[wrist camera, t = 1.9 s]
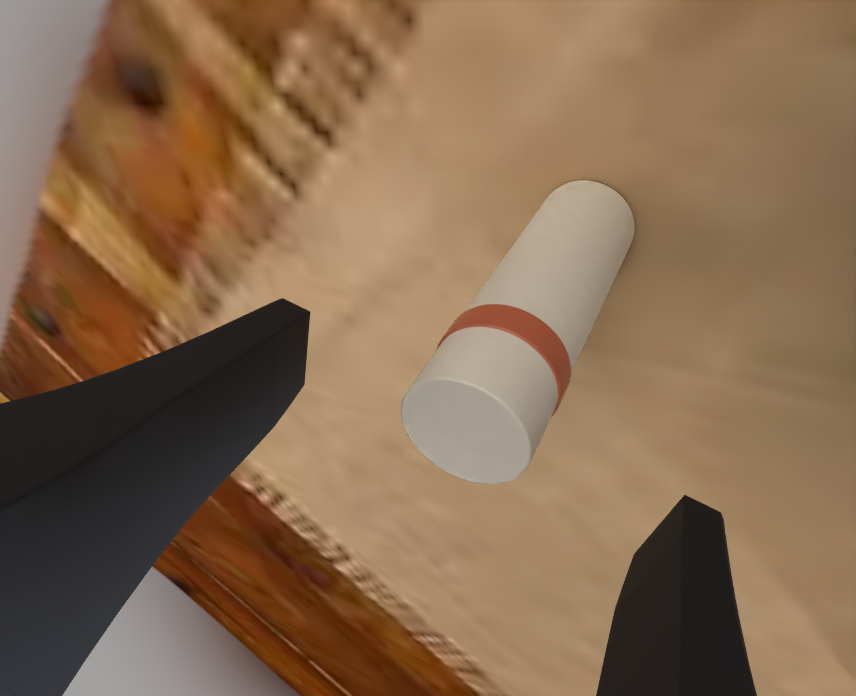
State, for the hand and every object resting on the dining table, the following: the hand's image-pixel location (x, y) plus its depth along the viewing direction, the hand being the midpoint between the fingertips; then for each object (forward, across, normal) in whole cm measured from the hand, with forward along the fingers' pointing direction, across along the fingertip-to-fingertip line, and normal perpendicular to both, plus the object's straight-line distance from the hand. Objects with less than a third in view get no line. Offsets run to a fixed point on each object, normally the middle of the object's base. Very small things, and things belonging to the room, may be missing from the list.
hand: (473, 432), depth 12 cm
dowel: (+9, 0, 0) cm, 9 cm away
